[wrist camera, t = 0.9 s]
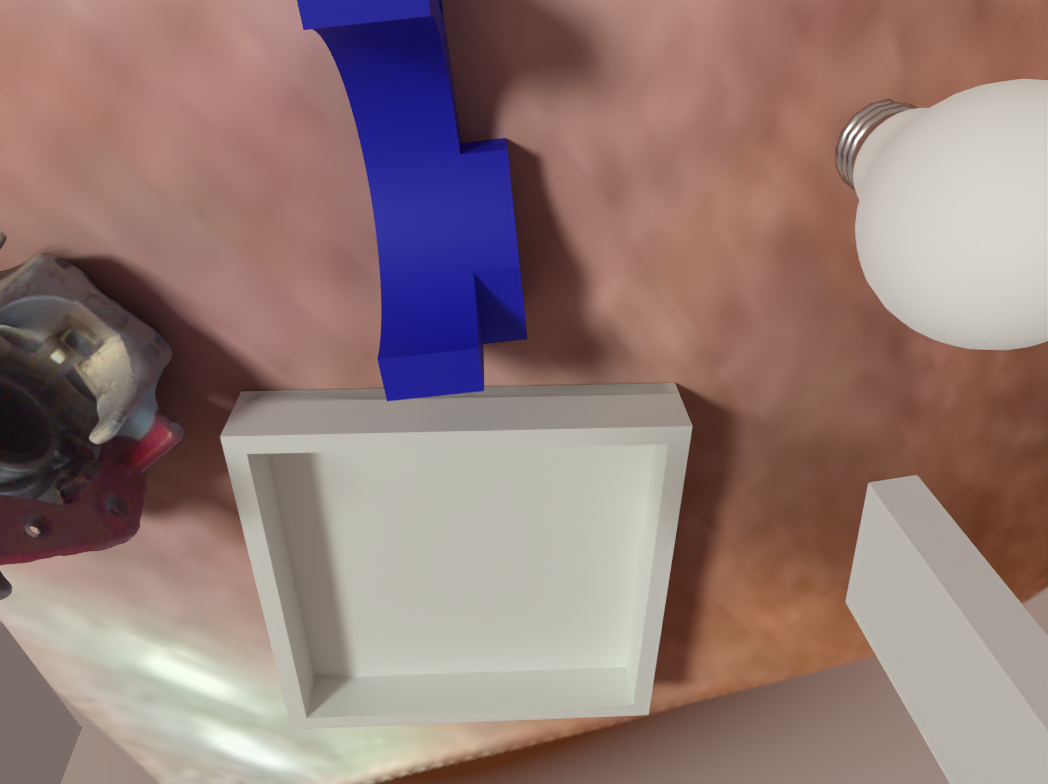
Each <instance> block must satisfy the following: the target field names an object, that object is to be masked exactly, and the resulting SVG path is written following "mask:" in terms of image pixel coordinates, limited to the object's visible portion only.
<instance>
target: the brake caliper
mask: <svg viewBox="0 0 1048 784" xmlns="http://www.w3.org/2000/svg"><path fill="white" fill-rule="evenodd" d="M5 240H6V235H5V234H4V233H3V232H2V231H0V247H1V246H2V245H3V243H4V241H5ZM171 357H172V350H171V347H170V346H169V344H168V343H167V342H166V341H165V340H164V338H163V337H162V336H161V335H160V334H159V333H158V332H157V331H156V330H155V329H153V328H152V327H150V326H149V325H147V324H146V323H145V322H143V321H142V320H141V319H139V318H138V317H136V316H135V315H134V314H132V313H131V312H130V311H128V310H127V309H126V308H124V307H123V306H121V305H120V304H119V303H118V302H116V301H115V300H113V299H111V298H110V297H108V296H106V295H105V294H103V293H102V292H101V291H100V290H99V289H98V288H97V287H96V286H95V284H94V283H93V282H92V281H91V279H90V278H89V277H88V276H87V275H86V274H85V273H84V272H83V271H82V270H81V269H79V268H78V267H76V266H74V265H73V264H71V263H69V262H66V261H64V260H62V259H60V258H58V257H56V256H54V255H51V254H46V253H40V254H39V255H37V256H36V257H35V258H33V259H31V260H29V261H27V262H25V263H23V264H21V265H18V266H16V267H14V268H11V269H8V270H4V271H0V565H5V564H17V563H27V562H32V561H35V560H39V559H44V558H50V557H54V556H59V555H62V556H67V555H74V554H78V553H82V552H87V551H100V550H105V549H108V548H111V547H113V546H116V545H119V544H122V543H125V542H127V541H129V540H130V539H131V538H132V537H133V536H134V535H135V534H136V532H137V531H138V529H139V527H140V518H141V516H142V511H143V505H144V496H145V493H146V490H147V475H148V470H149V467H150V466H151V465H152V464H153V463H154V462H155V461H157V460H158V459H159V458H160V457H162V456H163V455H165V454H166V453H167V452H168V451H170V450H171V449H172V448H173V447H174V446H175V445H176V444H178V443H179V442H180V441H181V440H182V438H183V437H184V429H183V427H182V426H181V425H180V424H178V423H177V422H175V421H173V420H172V419H171V418H169V417H168V416H166V415H165V414H164V413H162V412H161V410H160V409H159V407H158V404H157V402H156V397H155V390H156V386H157V383H158V381H159V379H160V377H161V375H162V373H163V370H164V368H165V366H166V365H167V364H168V363H169V362H170V360H171ZM30 526H34V527H36V528H37V529H38V533H39V534H36V533H34V532H32V531H31V529H30V528H29V527H30ZM11 592H12V586H11V584H10V583H9V582H8V581H7V579H6V578H5V577H4V576H3V574H2V573H1V571H0V600H1V599H4V598H6V597H8V596H9V595H10V594H11Z"/></svg>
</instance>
